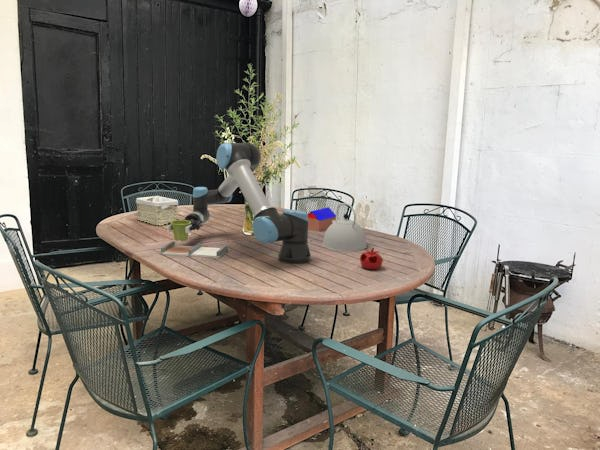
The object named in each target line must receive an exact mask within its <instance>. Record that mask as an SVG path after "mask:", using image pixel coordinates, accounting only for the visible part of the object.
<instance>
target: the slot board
mask: <svg viewBox="0 0 600 450" xmlns="http://www.w3.org/2000/svg"><path fill="white" fill-rule="evenodd" d="M228 248H229V245H228V244H224V245H223V246H222V247H210V246H209V247H208V246H207V247H205V246H202V242H198V243H196V244H195V245H193V246H191V245H176V240H174V241H173V240H172V241H170V242H169V243H168V244H165V245H163V246H162V247H160V254H161V255H162V256H163V255H164V256H165V255H167V256H180V257H181V256H182V257H197V258H210V259H220V258H221V257H222V256H223V255H225V253H227V252H228V251H229V250H228Z"/></svg>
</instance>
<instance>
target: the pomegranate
mask: <svg viewBox="0 0 600 450" xmlns="http://www.w3.org/2000/svg"><path fill="white" fill-rule="evenodd" d="M374 250H375V247H371V249H370V250H368V249H365V251H364V252H363V253H361V255H360V257H359V262H360V265H361V267H362V268H364V269H365V268H366V270H371V269H376V270H379V269H380V268H381V267H382V265H383V262H384V259H383V257H382V256H381V255H380V254H379V253H380V251H379V250H376V251H374Z"/></svg>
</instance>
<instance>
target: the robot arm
mask: <svg viewBox="0 0 600 450" xmlns="http://www.w3.org/2000/svg"><path fill="white" fill-rule="evenodd" d="M261 160H262V155H261V151H260V149H259V147H257V146H256V145H255V144H254V143H252V142H251V143H250V142H226V143H222V144H220V145H219V146H218V148H217V151H216V164H217V166H218V168H220V169H223V170H226V172H227V174H228V175H227V177H226V178H225V179H224V180H223V182H222V183H221V184H220V185H219V187H218V188H217V189H209V190H208V188H207V187H206V186H197V187H194V188H193V191H192V203H193V204H192V205H193V206H192V210H193V212H191V213H189V214H187V215H186V216H185V218H184V219H183V220H187V221H190V222H191V223H190V225H189V226H187V227H185V231H186V233H188V234H189V233H190V232H192V231H195V230H197V231H199V230H200V229H201V228H202V227H203V226H204V223H207V222H208V220H209V219H210V217H211V216H210V215H211V213H210V211H209V209H208V207H209V206H208V205H215V204H226V203H230V202H231V201H232V200H233V199H232V198H233V193H234V192H235V191H236V190H237V188H239V189H240V191H241V193H242V195H243V198H244V199H245V201H246V203H247V205H248V207H249V209H250V210H251V212H252V214H253V217H252V222H251V223H252V224H251V228H252V234H253V236H254V237H255V239H257V240H258V241H259V243H264V244H272V243H275V242H280V241H282V244H281V246H280V249H279V252H278V254H277V256H278V257H277V259H278V261H280V262H282V263H285V264H292V265H293V264H294V265H296V264H297V265H298V264H299V265H300V264H306V263H308V262H309V263H310V261H311V259H312V255H311V251H310V248H309V245H308V244H309V243H308V236H309V230H308V222H309V221H308V214H309V213H307V212H306V211H302V210H298V209H283V211H282V213H279V212H278V210H277V208H276V207H274V206H272V205H271V204H270V202H269V201H268V198H267V197H266V195H265V193H264V191H263V189H262V187H261V186H260V184H259V182H258V180H257V178H256V176H255V175H254V172H255V170H256V169H257V168H258V167H259V166H260V163H261ZM177 220H180V219H179V218H177ZM175 221H176V220H175ZM166 231H167V233H170V232H171V231H173V227H172V224H171V222H169V223H168V224H167V226H166Z"/></svg>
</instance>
